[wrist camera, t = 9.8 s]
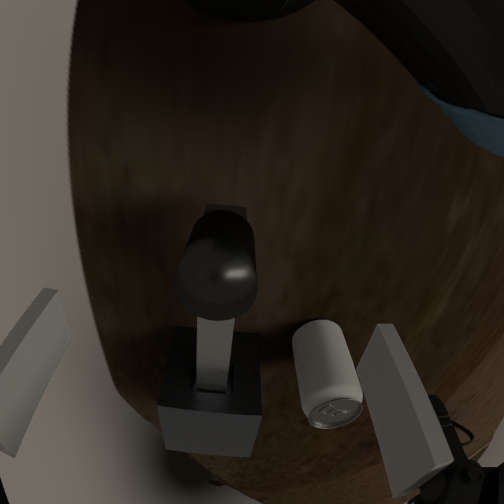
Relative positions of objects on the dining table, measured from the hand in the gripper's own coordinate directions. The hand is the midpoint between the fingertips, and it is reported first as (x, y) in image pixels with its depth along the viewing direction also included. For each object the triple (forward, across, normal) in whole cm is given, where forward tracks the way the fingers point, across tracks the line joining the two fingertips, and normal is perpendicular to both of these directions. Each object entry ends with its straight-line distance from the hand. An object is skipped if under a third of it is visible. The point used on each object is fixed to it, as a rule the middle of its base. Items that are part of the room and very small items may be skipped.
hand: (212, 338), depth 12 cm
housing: (+20, 0, -22) cm, 30 cm away
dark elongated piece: (+14, 0, -12) cm, 18 cm away
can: (+20, +12, -18) cm, 29 cm away
